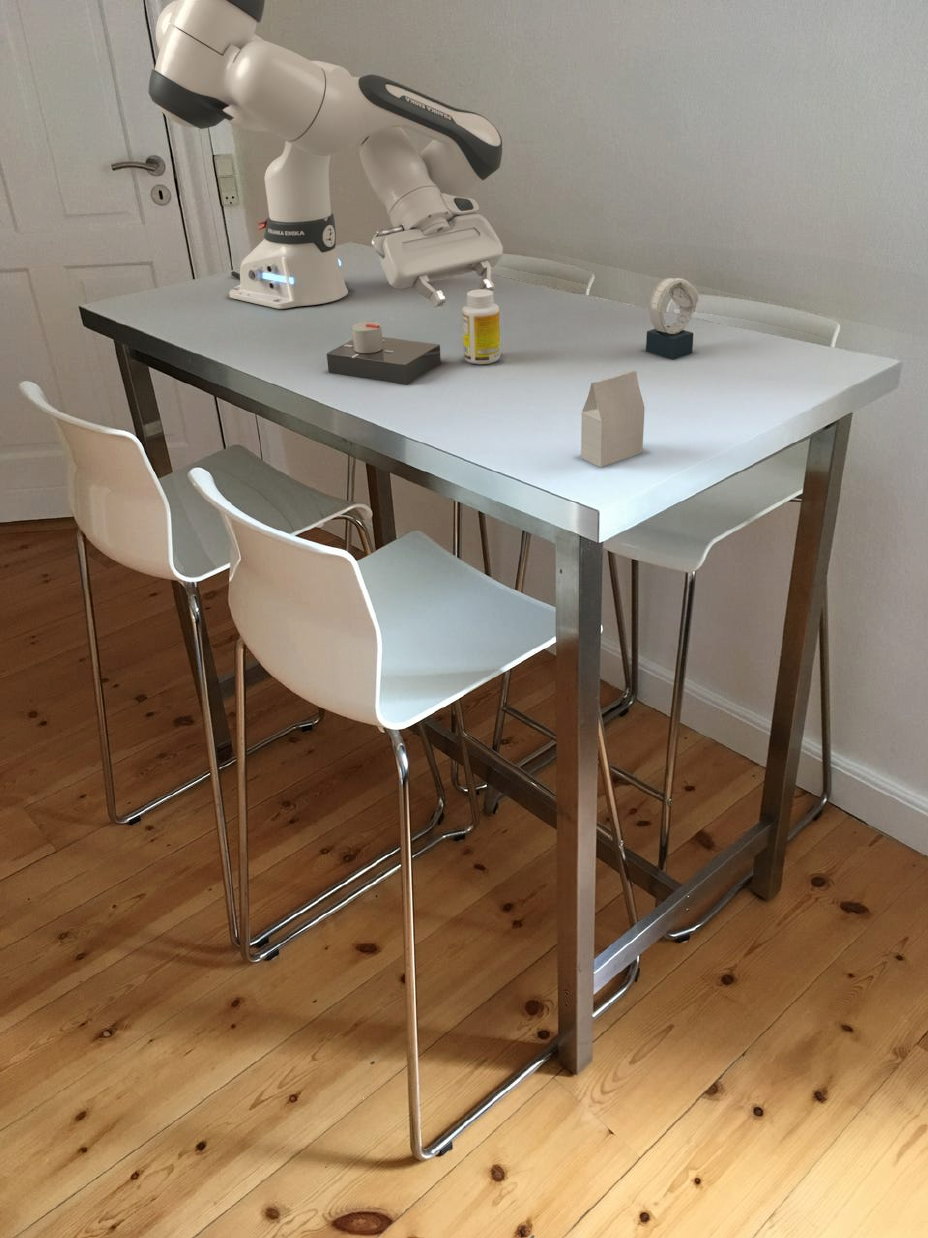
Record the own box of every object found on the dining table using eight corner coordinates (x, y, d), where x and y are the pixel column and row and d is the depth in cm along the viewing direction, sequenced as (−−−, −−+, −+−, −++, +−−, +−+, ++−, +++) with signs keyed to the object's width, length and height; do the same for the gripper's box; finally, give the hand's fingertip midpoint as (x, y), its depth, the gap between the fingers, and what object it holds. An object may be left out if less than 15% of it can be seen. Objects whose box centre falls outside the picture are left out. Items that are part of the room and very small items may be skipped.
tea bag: (642, 453, 134) (646, 374, 129) (600, 467, 131) (602, 387, 126) (622, 444, 137) (625, 367, 132) (580, 457, 134) (582, 379, 129)
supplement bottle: (507, 357, 167) (506, 290, 162) (486, 367, 164) (484, 299, 158) (478, 351, 170) (476, 285, 165) (456, 361, 166) (453, 294, 161)
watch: (700, 349, 167) (706, 277, 161) (664, 362, 162) (668, 287, 157) (673, 341, 170) (677, 270, 165) (637, 353, 166) (640, 280, 160)
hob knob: (348, 351, 163) (345, 326, 161) (364, 342, 166) (362, 318, 164) (372, 354, 161) (370, 329, 159) (388, 346, 165) (386, 321, 163)
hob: (327, 372, 165) (325, 352, 163) (364, 352, 172) (362, 332, 170) (405, 385, 159) (404, 364, 157) (441, 363, 166) (440, 343, 164)
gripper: (373, 219, 158) (417, 299, 156) (483, 197, 168) (525, 273, 167) (359, 245, 163) (401, 324, 162) (467, 223, 174) (507, 296, 172)
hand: (465, 298), depth 164 cm, fingers open, 8 cm apart
